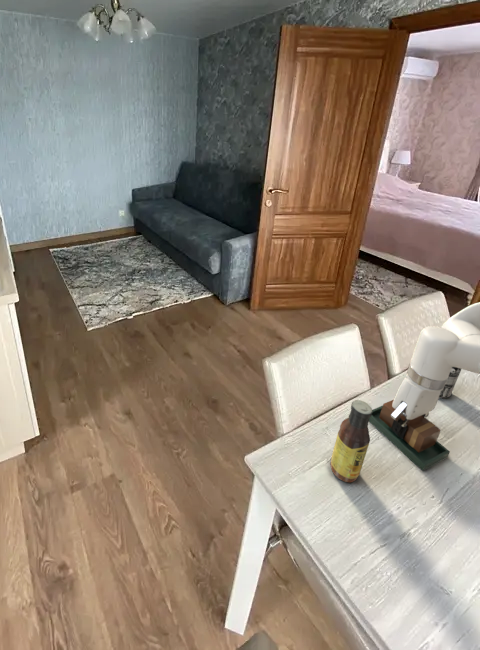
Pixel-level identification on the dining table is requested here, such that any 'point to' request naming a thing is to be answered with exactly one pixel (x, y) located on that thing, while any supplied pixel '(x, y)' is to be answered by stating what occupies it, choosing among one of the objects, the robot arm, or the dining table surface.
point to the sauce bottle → (352, 443)
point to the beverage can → (450, 382)
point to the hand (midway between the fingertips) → (406, 428)
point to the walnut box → (413, 428)
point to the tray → (419, 458)
